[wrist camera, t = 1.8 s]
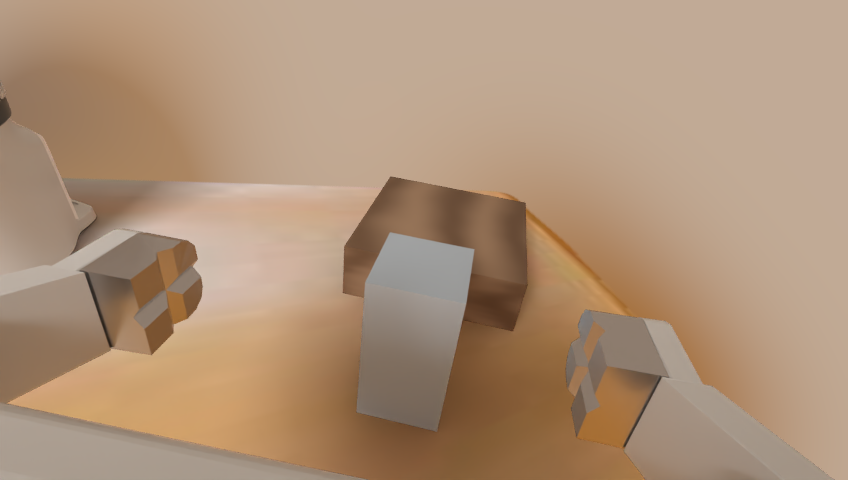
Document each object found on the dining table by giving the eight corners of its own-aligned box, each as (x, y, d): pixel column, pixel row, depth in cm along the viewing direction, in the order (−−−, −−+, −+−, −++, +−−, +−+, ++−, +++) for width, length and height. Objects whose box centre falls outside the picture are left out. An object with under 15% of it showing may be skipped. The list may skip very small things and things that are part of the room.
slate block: (437, 431, 26) (466, 303, 21) (356, 412, 26) (365, 282, 21) (447, 368, 30) (474, 249, 25) (378, 352, 31) (390, 232, 25)
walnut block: (342, 296, 36) (344, 246, 33) (386, 218, 48) (390, 176, 45) (511, 334, 35) (527, 285, 32) (513, 244, 46) (525, 202, 44)
